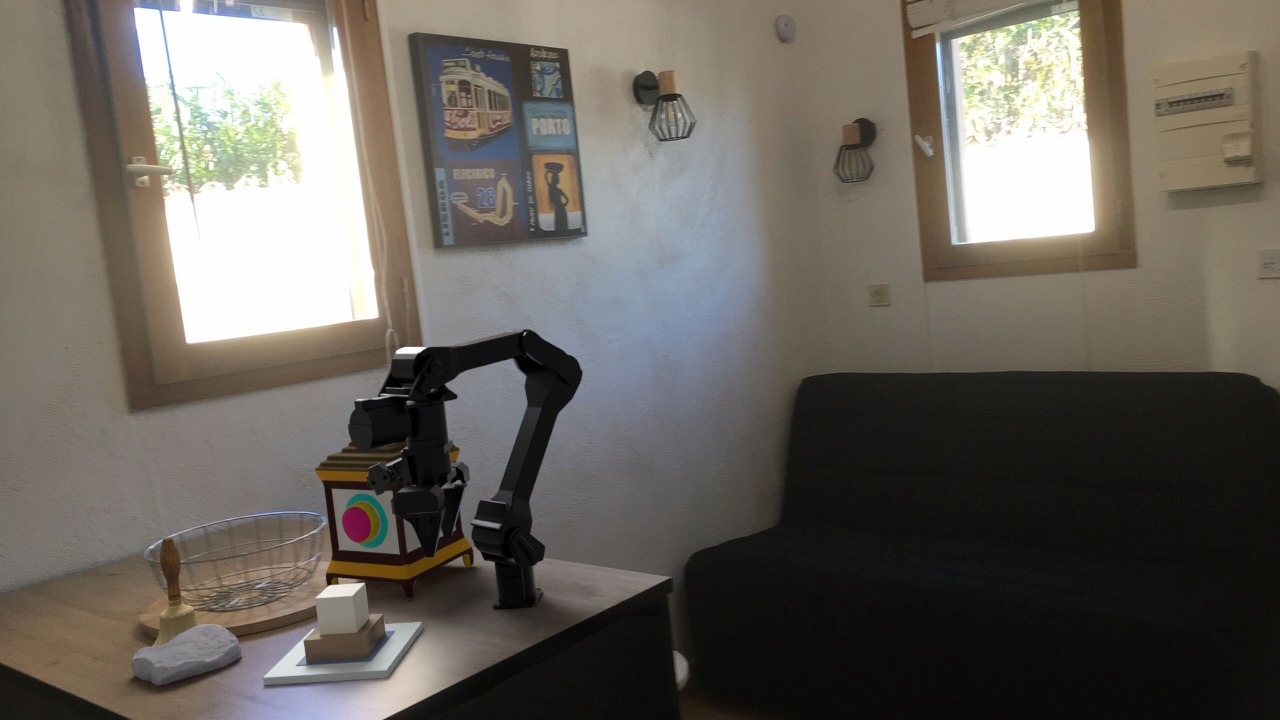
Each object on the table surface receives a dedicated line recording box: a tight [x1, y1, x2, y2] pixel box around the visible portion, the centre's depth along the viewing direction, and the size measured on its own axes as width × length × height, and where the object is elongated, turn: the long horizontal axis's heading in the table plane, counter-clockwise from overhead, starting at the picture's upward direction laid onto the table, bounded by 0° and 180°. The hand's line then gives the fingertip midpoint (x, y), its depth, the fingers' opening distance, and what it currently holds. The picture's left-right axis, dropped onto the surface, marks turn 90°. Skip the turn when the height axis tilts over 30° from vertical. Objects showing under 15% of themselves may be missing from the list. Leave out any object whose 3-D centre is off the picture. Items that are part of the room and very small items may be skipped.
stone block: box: [131, 623, 243, 687], centre depth 130 cm, size 12×5×10 cm
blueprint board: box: [262, 613, 424, 686], centre depth 129 cm, size 16×16×4 cm
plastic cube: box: [314, 582, 370, 635], centre depth 128 cm, size 5×5×5 cm
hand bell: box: [151, 536, 200, 647], centre depth 137 cm, size 8×8×16 cm
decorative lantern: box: [314, 440, 475, 601], centre depth 158 cm, size 20×20×30 cm
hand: (439, 546), depth 134 cm, fingers open, 9 cm apart
